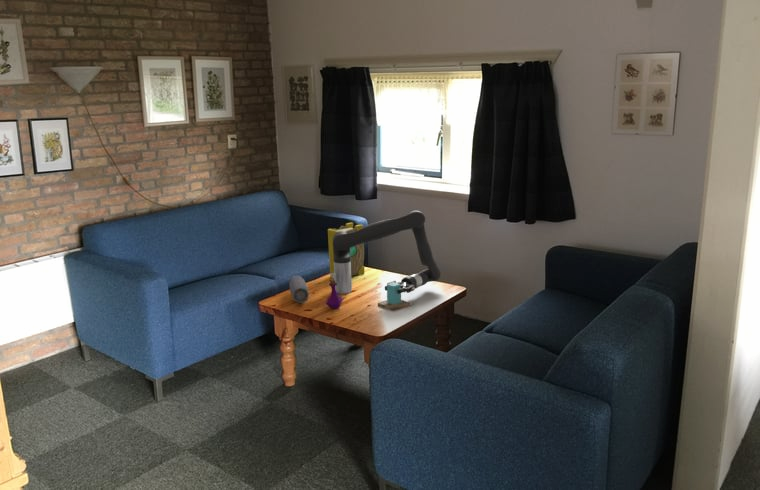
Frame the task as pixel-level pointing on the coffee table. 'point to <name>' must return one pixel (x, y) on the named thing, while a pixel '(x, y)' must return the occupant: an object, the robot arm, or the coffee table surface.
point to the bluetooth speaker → (298, 289)
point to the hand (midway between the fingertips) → (391, 290)
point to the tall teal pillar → (393, 293)
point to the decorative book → (355, 251)
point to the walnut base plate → (394, 307)
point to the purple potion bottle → (333, 295)
